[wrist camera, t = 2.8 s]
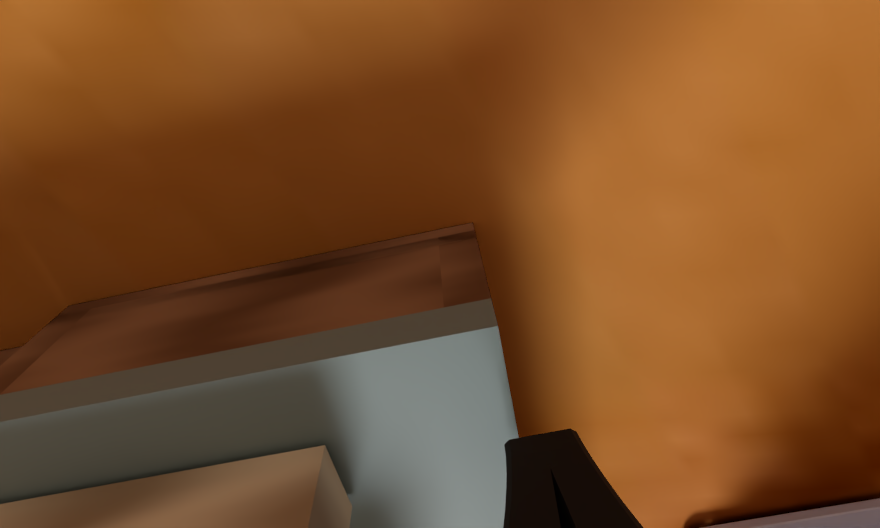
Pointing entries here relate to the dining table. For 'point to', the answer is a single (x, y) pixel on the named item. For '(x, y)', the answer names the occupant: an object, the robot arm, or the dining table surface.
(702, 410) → the dining table surface
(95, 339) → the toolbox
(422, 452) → the lid
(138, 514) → the beige rectangular bar
